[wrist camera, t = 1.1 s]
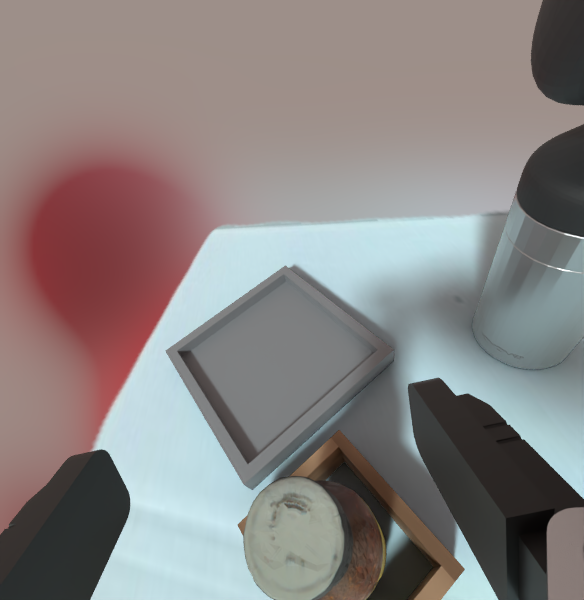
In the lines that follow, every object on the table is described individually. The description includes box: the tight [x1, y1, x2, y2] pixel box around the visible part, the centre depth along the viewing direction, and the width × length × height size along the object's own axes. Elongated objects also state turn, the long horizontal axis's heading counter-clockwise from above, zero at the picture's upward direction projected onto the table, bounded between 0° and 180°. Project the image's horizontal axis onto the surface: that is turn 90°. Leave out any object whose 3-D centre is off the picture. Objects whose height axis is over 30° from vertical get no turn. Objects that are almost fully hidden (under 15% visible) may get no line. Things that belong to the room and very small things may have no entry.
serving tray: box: [166, 266, 394, 490], centre depth 40 cm, size 20×20×2 cm
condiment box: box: [238, 430, 465, 600], centre depth 25 cm, size 11×12×5 cm
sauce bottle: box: [243, 476, 386, 600], centre depth 20 cm, size 7×6×20 cm
